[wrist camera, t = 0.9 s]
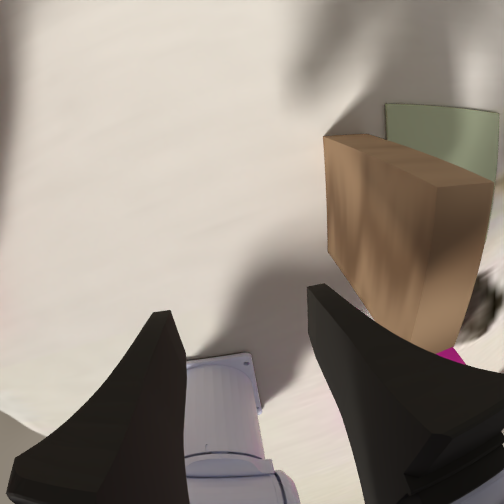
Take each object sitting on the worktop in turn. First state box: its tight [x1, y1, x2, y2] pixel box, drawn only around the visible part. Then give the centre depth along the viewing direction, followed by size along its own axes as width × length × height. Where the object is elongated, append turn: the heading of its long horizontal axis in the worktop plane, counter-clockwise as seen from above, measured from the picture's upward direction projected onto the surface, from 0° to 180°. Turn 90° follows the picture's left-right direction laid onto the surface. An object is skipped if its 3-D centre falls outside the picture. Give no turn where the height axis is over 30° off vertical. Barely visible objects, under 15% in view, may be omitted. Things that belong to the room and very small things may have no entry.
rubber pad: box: [385, 104, 499, 242], centre depth 20 cm, size 12×12×1 cm
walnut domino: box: [323, 134, 494, 354], centre depth 15 cm, size 8×3×11 cm, turn 7°
